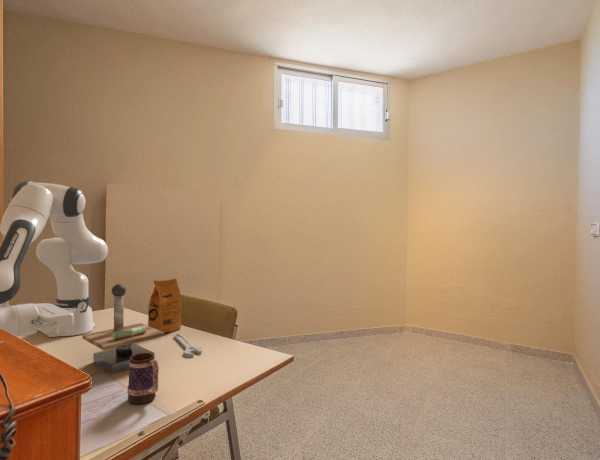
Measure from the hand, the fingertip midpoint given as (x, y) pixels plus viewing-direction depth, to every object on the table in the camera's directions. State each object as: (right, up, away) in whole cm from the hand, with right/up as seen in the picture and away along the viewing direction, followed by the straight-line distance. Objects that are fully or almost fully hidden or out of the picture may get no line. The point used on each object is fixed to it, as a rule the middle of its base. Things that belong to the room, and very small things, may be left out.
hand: (78, 310), depth 124 cm
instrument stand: (+11, -19, +8) cm, 23 cm away
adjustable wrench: (+27, -19, +25) cm, 42 cm away
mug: (+28, -21, -18) cm, 39 cm away
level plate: (+11, -10, +8) cm, 17 cm away
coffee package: (+12, -17, +44) cm, 49 cm away
